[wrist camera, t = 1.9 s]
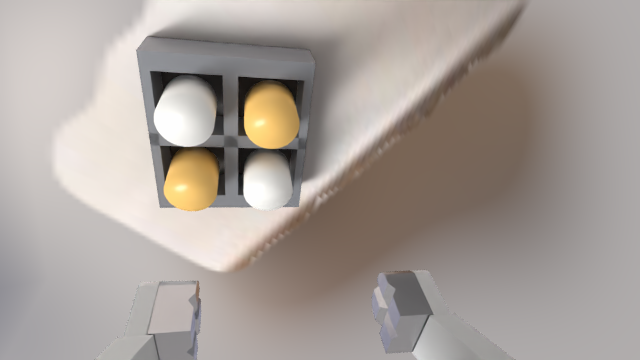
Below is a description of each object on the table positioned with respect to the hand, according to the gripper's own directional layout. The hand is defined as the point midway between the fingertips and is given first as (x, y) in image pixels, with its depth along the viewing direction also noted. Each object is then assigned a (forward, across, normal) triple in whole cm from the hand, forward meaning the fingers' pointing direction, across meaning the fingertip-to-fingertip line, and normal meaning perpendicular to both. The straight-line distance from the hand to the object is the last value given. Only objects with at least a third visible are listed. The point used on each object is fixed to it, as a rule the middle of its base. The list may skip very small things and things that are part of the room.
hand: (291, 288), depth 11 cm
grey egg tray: (+15, +2, +2) cm, 16 cm away
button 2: (+13, 0, +4) cm, 14 cm away
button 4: (+13, 0, 0) cm, 13 cm away
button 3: (+13, +4, 0) cm, 14 cm away
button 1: (+13, +4, +4) cm, 15 cm away
